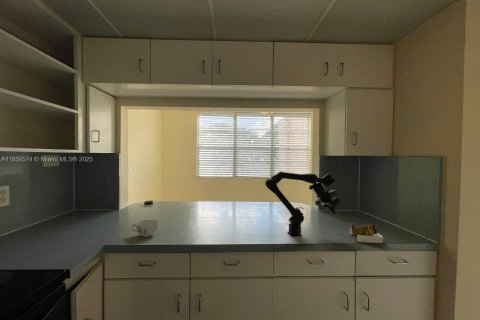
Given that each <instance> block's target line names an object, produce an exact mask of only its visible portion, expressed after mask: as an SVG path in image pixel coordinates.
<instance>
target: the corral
mask: <svg viewBox="0 0 480 320" xmlns="http://www.w3.org/2000/svg"><path fill="white" fill-rule="evenodd" d="M349 234H350V235H353V232H352V229H351V227H349ZM356 242H359V243H371V244H372V243H373V244H374V243H375V244H383V243H384V236H383V235H382V234H380V233H379V232H377V234H373V235H371V236H367V235H357V238H356Z"/></svg>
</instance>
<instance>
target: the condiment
mask: <svg viewBox="0 0 480 320" xmlns="http://www.w3.org/2000/svg"><path fill="white" fill-rule="evenodd" d="M349 226H350V228H351V229H352V232H353V234H352V235H353V237H354V240H357V235H367V236H372V235H373V234H377V233H378V229H377V226H376V225H375V224H374V223H373V224H364V225H359V226H357V225H356V226H355V224H354V222H352V223H350V224H349Z"/></svg>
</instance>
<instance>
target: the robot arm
mask: <svg viewBox="0 0 480 320" xmlns="http://www.w3.org/2000/svg"><path fill="white" fill-rule="evenodd" d="M283 179H286V180H292V181H293V180H295V181H302V182H305V183H308V184H309V187H308V190H310V191H312V190H313V192H314V194H316V198H317V199H316V200H315V201H314V204H315V206H317V207H319V206H320V204H321V205H322V206H321V207H322V208H324V209H325V210H327V211H328V212H330V213H332V214H333V215H335V214H336V210H335V209H336V208H335V207H336V206H337V205H339V203H341V200H340V198H339V197H335V196H338V192H337V189H329V187H331V186H332V185H334V184H335V183H336V180H335V178H334V177H332V176H331V174H330V173H326V174H325V175H323V176H322V177H319V176H318V174H315V173H310V172H309V173H297V172H296V173H294V172H288V171H287V172H285V171H279V172H278V173H276V174H275V175H273V176H272V177H269V178H267V179H265V181H264V185H265V187H266V188H267V189H268V190H269V191H271V192H272V193H273V194H274V195H275V196H276V197H277V198H278V199H279V201H280V202H281V203H282V204H283V205H284V206H285V208H286V210H288V211H289V214H290V217H289V218H288V222H289V224H288V231H287V234H288V235H290V236H291V237H300V236H301V237H302V235H303V234H302V226H301V225H302V223H303V222H304V220H305V215H304V213H303V212H302V211H301V209H300V208H299V207H296V208H295V207H294V205H292V203H291V201H289V199H288V198H287V197H286V196H285V194H283V192H282V191H281V190H280V188H279V186H278V185H277V184H279V183H280V182H281V181H282V180H283ZM325 188H328V189H325Z"/></svg>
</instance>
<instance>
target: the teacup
mask: <svg viewBox="0 0 480 320" xmlns="http://www.w3.org/2000/svg"><path fill="white" fill-rule="evenodd" d="M158 226H159V221H158V220H156V219H143V220H139V221H136V222H135V223H133V224H131V226H130V227H131V230H132V231H133V232H137V233H138V234H139V235H140V236H141V237H142V238H149V237H152V236H153V235H154V234H155V233H156V231H157V229H158ZM134 227H135V229H134Z"/></svg>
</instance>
